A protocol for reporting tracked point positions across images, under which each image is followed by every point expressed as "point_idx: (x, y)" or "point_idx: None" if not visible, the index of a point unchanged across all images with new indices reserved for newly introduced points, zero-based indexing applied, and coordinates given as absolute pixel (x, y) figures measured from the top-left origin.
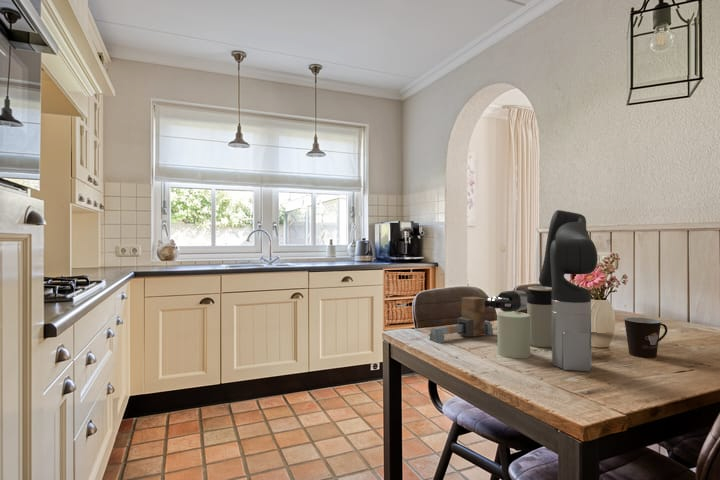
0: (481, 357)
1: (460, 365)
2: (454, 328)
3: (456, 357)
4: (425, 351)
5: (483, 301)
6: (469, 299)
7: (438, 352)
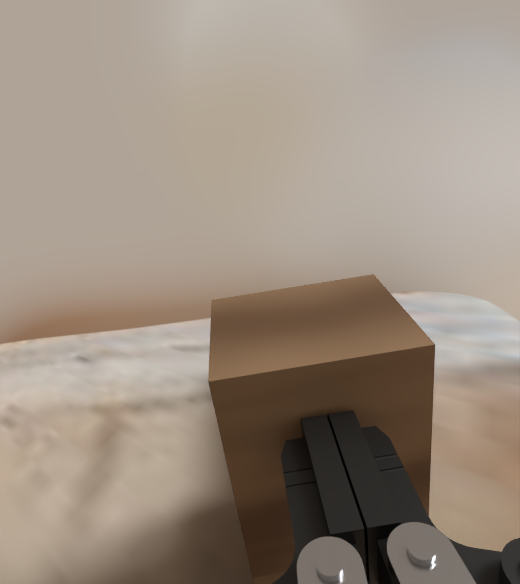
0: (17, 409)
1: (33, 347)
2: None
3: (83, 359)
4: (187, 322)
5: (216, 400)
6: (267, 297)
7: (156, 341)
